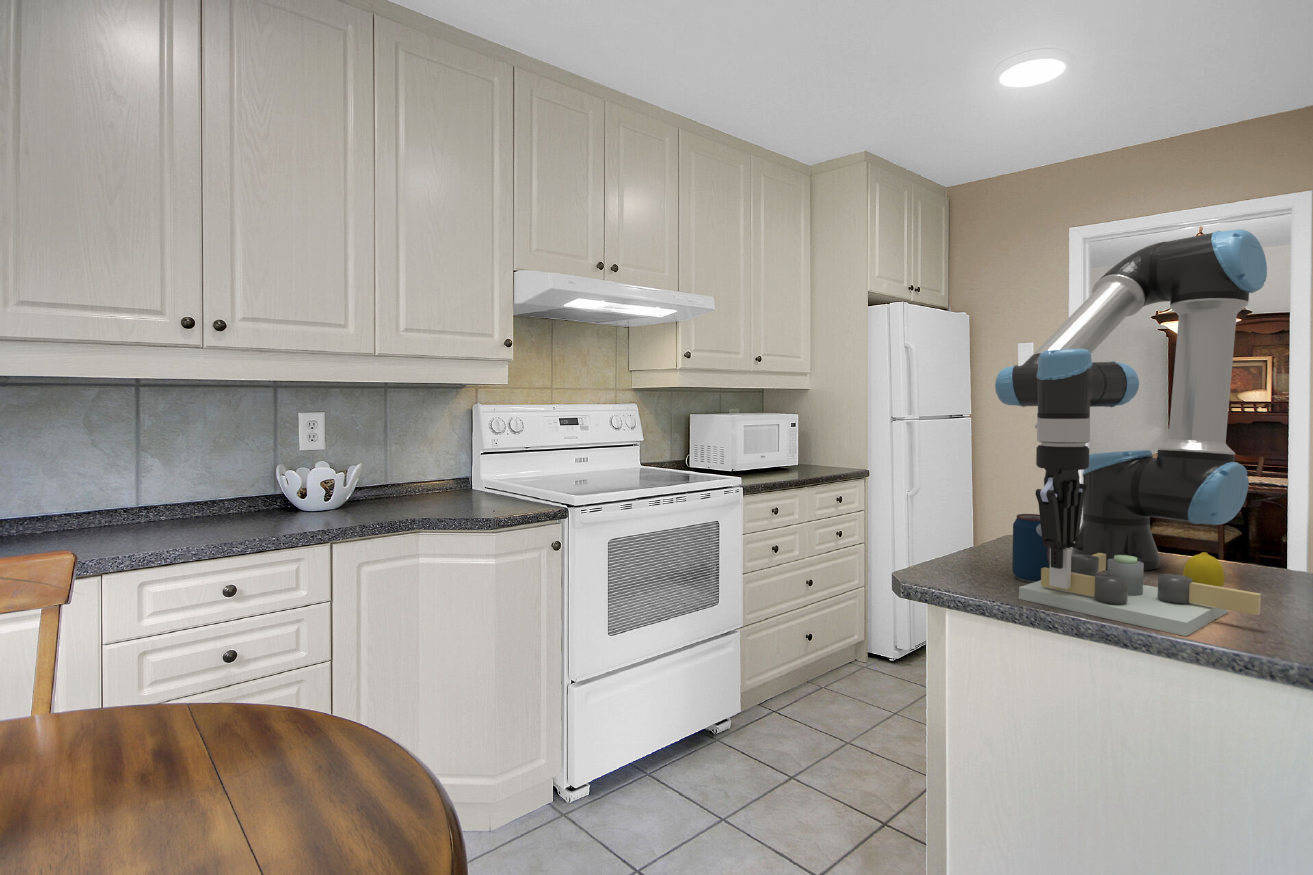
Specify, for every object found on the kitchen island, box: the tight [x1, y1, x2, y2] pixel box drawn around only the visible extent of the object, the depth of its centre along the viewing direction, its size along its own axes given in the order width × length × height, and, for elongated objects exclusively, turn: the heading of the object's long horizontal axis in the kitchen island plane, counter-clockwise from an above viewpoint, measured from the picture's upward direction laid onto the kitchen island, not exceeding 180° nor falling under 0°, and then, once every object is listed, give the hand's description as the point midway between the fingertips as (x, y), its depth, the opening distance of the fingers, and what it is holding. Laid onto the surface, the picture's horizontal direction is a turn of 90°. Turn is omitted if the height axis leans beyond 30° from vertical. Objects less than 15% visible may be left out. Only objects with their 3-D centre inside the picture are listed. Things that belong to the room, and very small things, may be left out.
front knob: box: [1041, 567, 1128, 604], centre depth 115 cm, size 13×4×4 cm, turn 36°
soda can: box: [1011, 513, 1050, 583], centre depth 133 cm, size 7×7×12 cm
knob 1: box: [1071, 553, 1107, 576], centre depth 128 cm, size 10×4×4 cm, turn 126°
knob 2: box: [1157, 573, 1262, 616], centre depth 108 cm, size 13×4×4 cm, turn 36°
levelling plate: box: [1018, 555, 1229, 637], centre depth 116 cm, size 18×24×8 cm
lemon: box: [1182, 552, 1226, 587], centre depth 119 cm, size 6×6×8 cm
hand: (1059, 586), depth 117 cm, fingers closed
